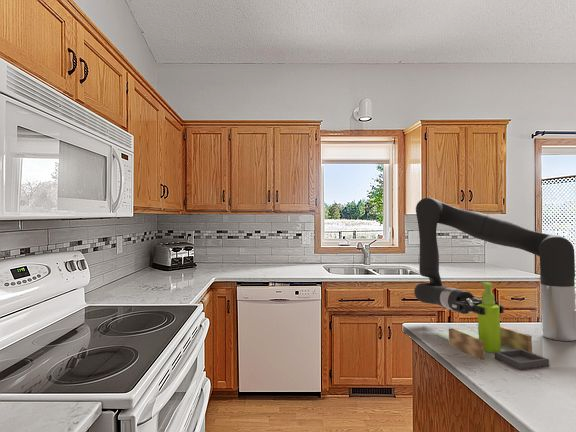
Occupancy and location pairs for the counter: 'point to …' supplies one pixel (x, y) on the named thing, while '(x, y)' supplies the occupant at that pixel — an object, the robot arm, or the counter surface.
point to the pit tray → (521, 359)
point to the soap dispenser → (489, 321)
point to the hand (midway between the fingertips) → (493, 310)
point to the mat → (446, 334)
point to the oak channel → (477, 345)
